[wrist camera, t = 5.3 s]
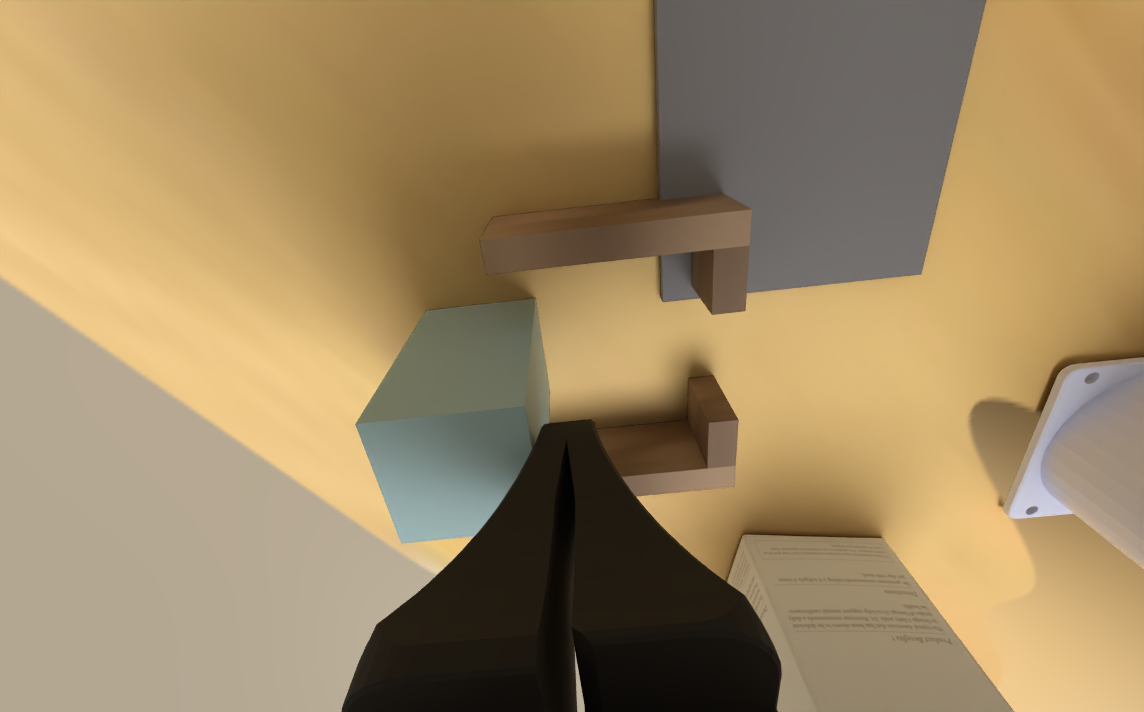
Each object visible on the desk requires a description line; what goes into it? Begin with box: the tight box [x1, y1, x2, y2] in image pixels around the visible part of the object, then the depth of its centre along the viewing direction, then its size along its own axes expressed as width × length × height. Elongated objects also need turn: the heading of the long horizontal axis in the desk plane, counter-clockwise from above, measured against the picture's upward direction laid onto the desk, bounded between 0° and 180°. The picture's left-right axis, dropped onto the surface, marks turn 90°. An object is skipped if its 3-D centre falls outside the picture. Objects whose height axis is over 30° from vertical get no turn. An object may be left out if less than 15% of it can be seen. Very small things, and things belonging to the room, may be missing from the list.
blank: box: [355, 298, 550, 544], centre depth 15 cm, size 4×4×7 cm
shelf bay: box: [479, 193, 752, 496], centre depth 17 cm, size 8×10×3 cm
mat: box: [654, 0, 986, 302], centre depth 15 cm, size 9×9×1 cm
